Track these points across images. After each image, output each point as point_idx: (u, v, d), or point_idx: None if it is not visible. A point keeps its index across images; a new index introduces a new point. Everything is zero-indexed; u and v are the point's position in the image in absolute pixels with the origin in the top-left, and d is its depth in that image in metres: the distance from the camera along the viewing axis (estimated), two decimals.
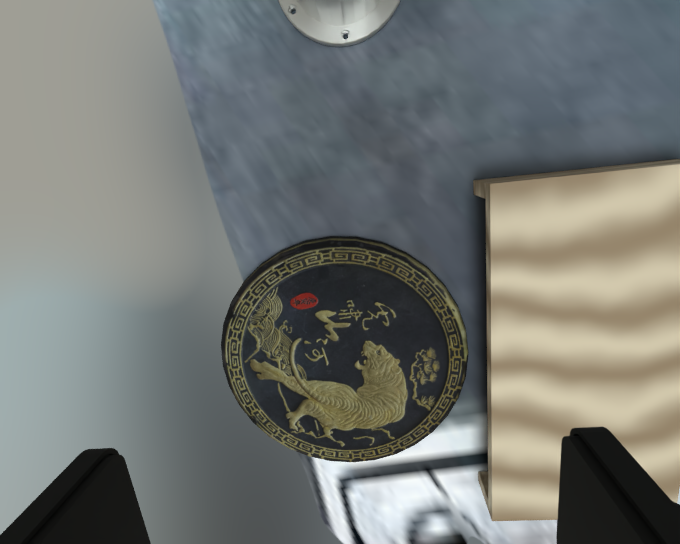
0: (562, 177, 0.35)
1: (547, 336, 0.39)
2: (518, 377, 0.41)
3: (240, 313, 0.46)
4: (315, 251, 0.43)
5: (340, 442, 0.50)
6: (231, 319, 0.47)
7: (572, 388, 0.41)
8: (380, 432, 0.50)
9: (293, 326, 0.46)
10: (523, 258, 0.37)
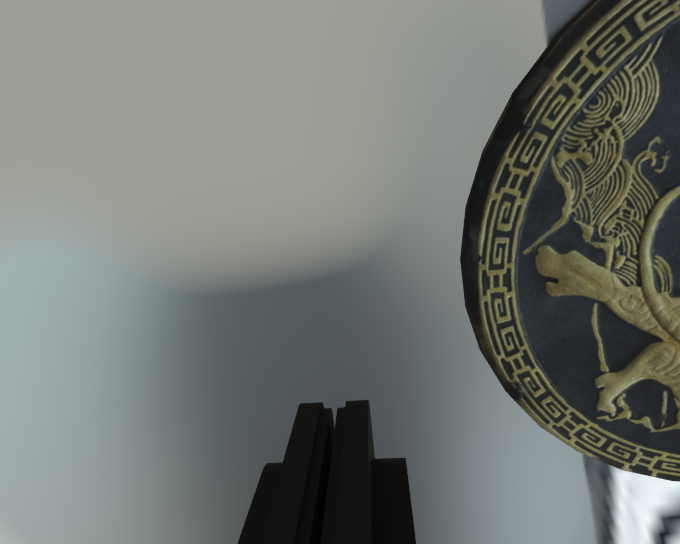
0: None
1: None
2: None
3: (542, 120, 0.18)
4: None
5: None
6: (515, 137, 0.19)
7: None
8: None
9: (673, 153, 0.19)
10: None
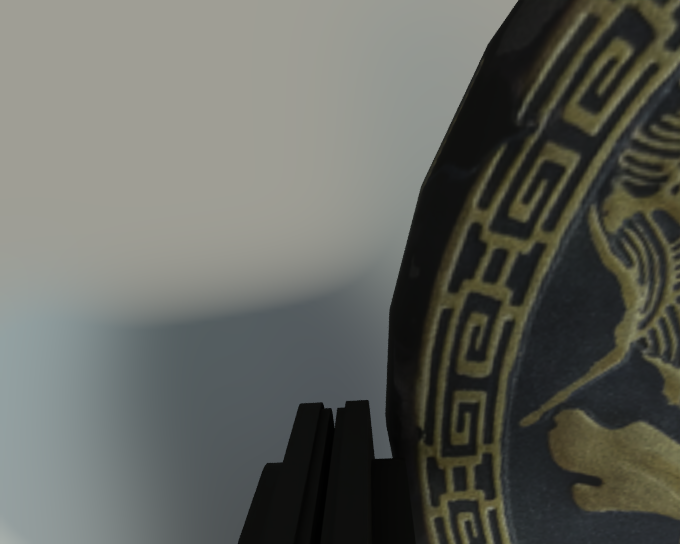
0: None
1: None
2: None
3: (566, 111, 0.07)
4: None
5: None
6: (495, 158, 0.07)
7: None
8: None
9: None
10: None
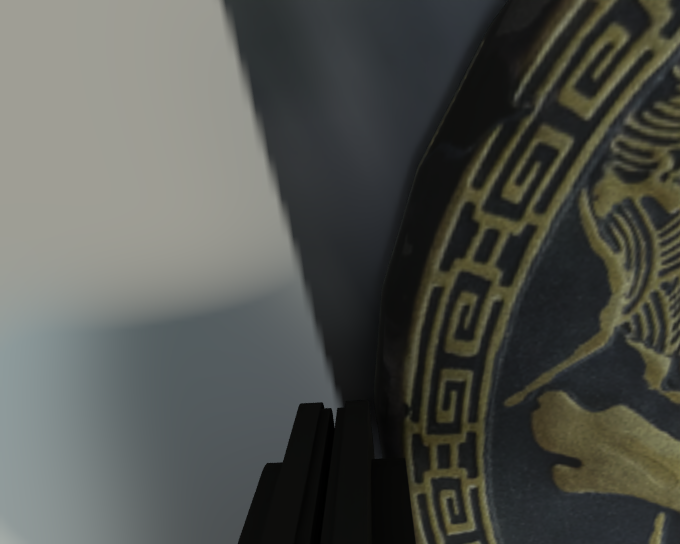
0: None
1: None
2: None
3: (561, 94, 0.07)
4: None
5: None
6: (491, 138, 0.07)
7: None
8: None
9: None
10: None
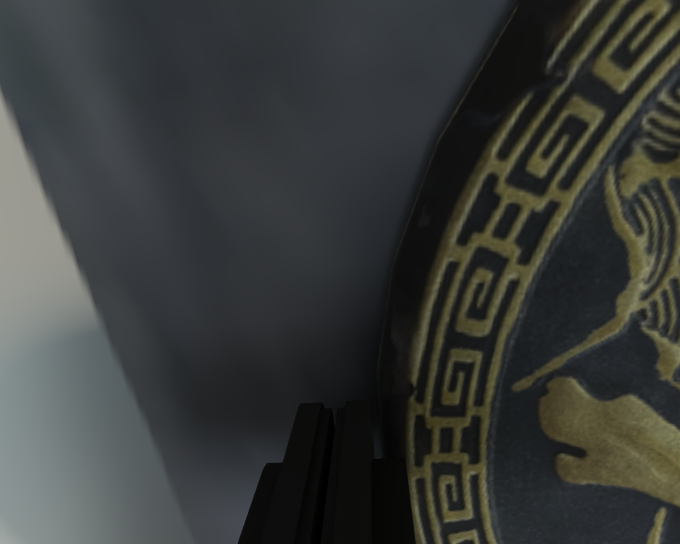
0: None
1: None
2: None
3: (596, 64, 0.07)
4: None
5: None
6: (520, 107, 0.07)
7: None
8: None
9: None
10: None
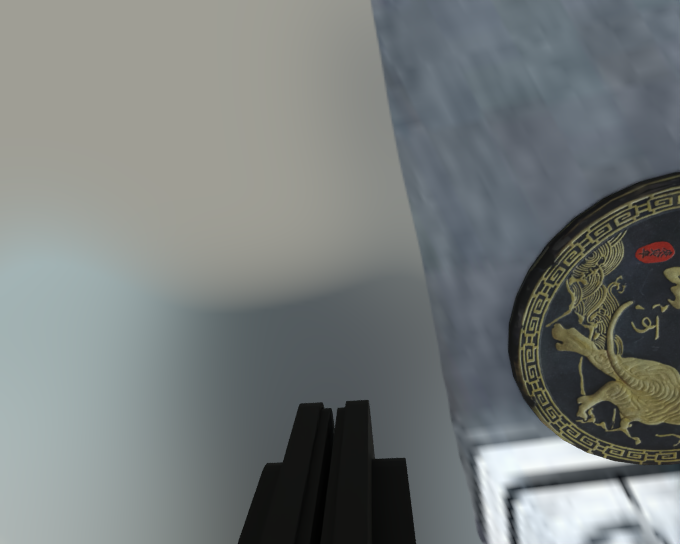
0: None
1: None
2: None
3: (563, 261, 0.36)
4: None
5: (637, 438, 0.40)
6: (549, 268, 0.36)
7: None
8: None
9: (628, 284, 0.36)
10: None
